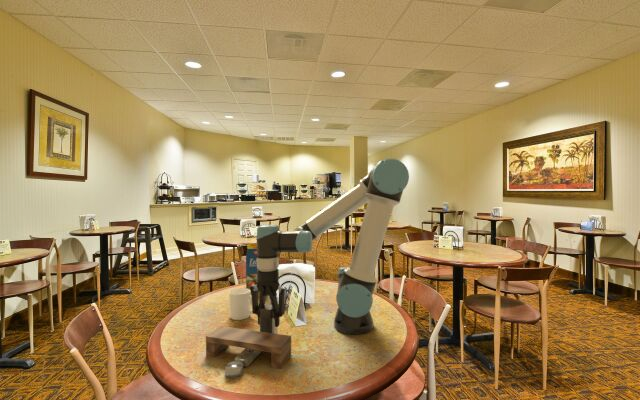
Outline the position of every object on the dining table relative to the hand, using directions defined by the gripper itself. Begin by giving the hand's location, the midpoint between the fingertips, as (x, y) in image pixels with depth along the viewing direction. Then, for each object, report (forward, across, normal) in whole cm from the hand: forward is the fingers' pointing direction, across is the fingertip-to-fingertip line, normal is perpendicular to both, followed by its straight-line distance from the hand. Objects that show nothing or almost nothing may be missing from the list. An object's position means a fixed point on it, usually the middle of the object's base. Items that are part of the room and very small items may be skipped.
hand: (268, 334), depth 108 cm
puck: (+2, 0, +22) cm, 22 cm away
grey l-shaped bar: (+1, 0, +8) cm, 8 cm away
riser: (+2, +1, +12) cm, 12 cm away
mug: (+2, +19, -16) cm, 25 cm away
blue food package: (+2, +31, -51) cm, 59 cm away
